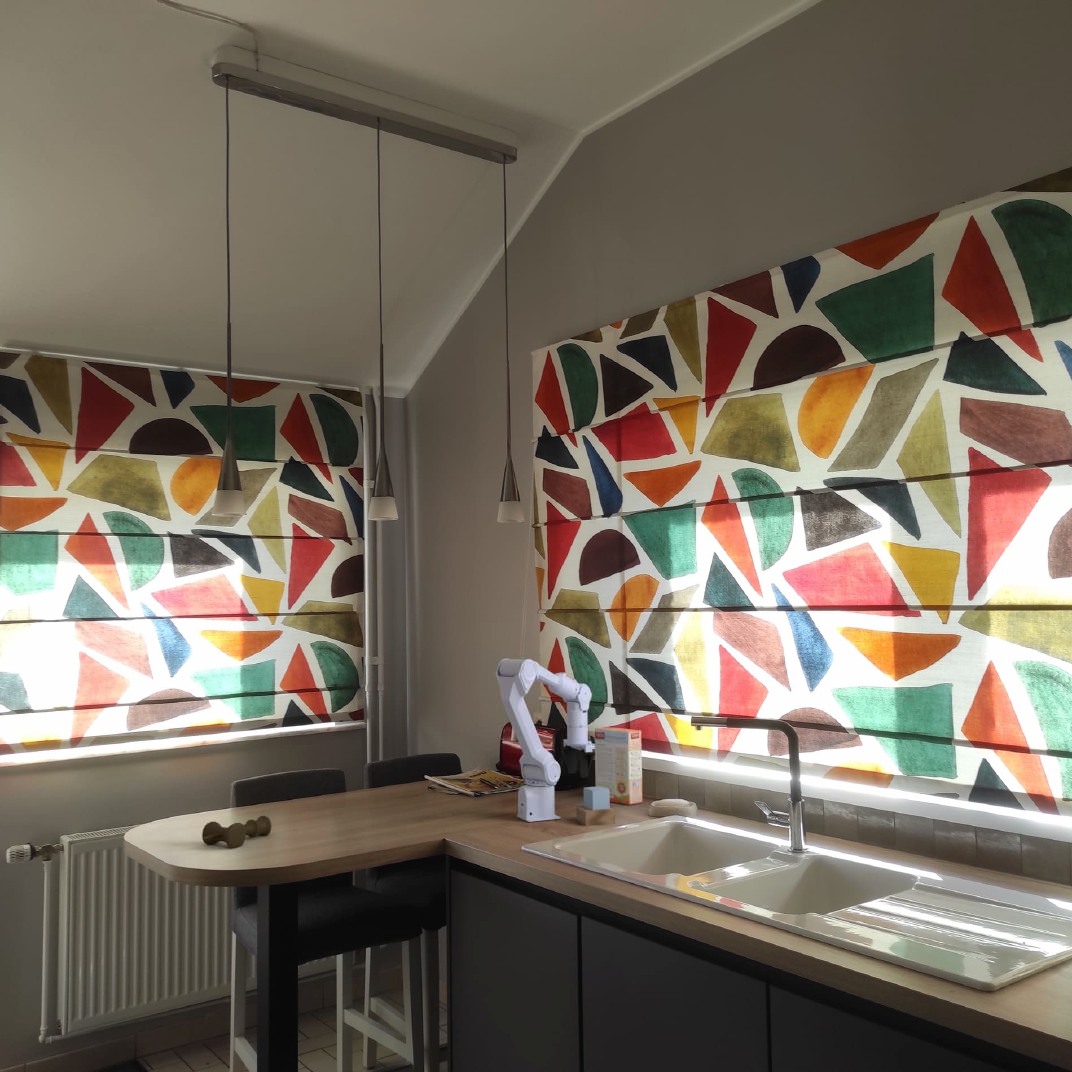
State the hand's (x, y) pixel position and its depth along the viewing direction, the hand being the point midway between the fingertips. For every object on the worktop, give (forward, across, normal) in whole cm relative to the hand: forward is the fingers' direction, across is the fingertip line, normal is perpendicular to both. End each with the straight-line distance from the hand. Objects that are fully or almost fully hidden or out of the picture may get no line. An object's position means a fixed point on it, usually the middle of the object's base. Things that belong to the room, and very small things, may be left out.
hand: (578, 775), depth 277 cm
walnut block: (+10, -17, +3) cm, 20 cm away
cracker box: (+10, +6, -16) cm, 20 cm away
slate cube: (+6, -17, +3) cm, 18 cm away
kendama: (+10, +1, +92) cm, 93 cm away
